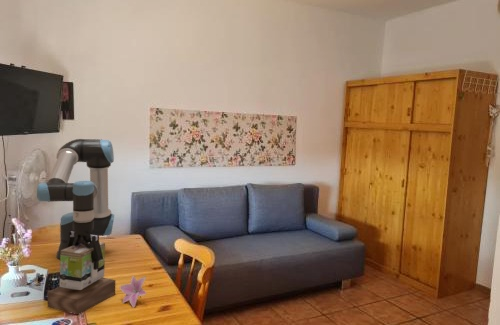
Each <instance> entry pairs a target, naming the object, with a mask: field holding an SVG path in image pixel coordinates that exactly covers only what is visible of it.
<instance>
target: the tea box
mask: <svg viewBox="0 0 500 325" xmlns="http://www.w3.org/2000/svg"><path fill="white" fill-rule="evenodd" d="M89 243H90V242H89ZM99 243H100V247H101V251H102V255H103V259H102V260H100V261H99V268H98V269H97V276H96V277H94V278H91V262H92V258H91V252H92V251H93V250H94V249H93V248H91V249H89V248H87V247H85V245H84V244H79V245H76V246H70V247H68V248H65V249H63V250H61V253H60V259H59V260H60V261H59V286H60V287H63V288H69V289H76V290H82V289H83V288H85V287H87V286H88V285H90V284H92V283H93V282H95V281H97V280H99V279H100V278H102V277H103V278H105V263H106V261H105V260H106V255H105V254H106V242H101V241H99Z"/></svg>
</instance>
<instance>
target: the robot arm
mask: <svg viewBox="0 0 500 325" xmlns="http://www.w3.org/2000/svg"><path fill="white" fill-rule="evenodd" d="M114 154H115V153H114V147H113V144H112V142H111V140H108V139H102V138H101V139H97V138H95V139H91V138H90V139H83V138H77V139H73V140H70V141H68V142H66V143H65V144H64V145H62V146H61V147H60V148H59V149H58V151H57V153H56V161H55V164H54V166H53V168H52V170H51V173H50V175H49V176H48V180H47V182H41V183H39V184H38V185H37V187H36V198H37V200H38V201H39V202H48V203H50V202H51V203H52V202H72V212H68V213H66V214H63V215H62V216H61V217H60V222H59V227H60V229H59V232H60V239H59V243H60V244H59V246H58V250H57V251H56V258H57V259H58V260H60V253H61V250H63V249H65V248H68V247H70V246H76V245H79V244H84V245H85V247H87V248H89V249H91V248H93V249H94V250H93V251H92V252H91V258H92V262H91V278H94V277H96V276H97V269H98V268H99V261H100V260H102V259H103V255H102V251H101V247H100V243H99V242H100V237H104V236H110V235H111V234H112V232H113V225H114V220H115V214H114V213H112V210H111V209H109V175H108V174H109V173H108V170H109V168H110V167H111V166H112V165H111V164H112V163H114V160H115V156H114ZM77 163H86V167H87V168H88V169H89V180H79V181H78V180H77V181H75V182H69V180H70V177H71V174H72V171H73V168H74V166H75V165H76V164H77ZM89 242H90V243H89Z"/></svg>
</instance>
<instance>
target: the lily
mask: <svg viewBox="0 0 500 325" xmlns="http://www.w3.org/2000/svg"><path fill="white" fill-rule="evenodd" d="M145 281H146V276H143V277H141V278H139V279H136V277H135V276H134V275H132V277H131V279H130V282H129V283H126V284H123V285H121V286H119V289H120V290H121V292H122V293H123V294H125V295H124V297H123V300H122V304H125V303H126V302H128V301H129V303H130V305H131V306H132V308H135V307H136V305H137V301H138V297H139V298H142V296H145V295H147V292H146V290H144V289H143V288H142V287H143V285H144V284H145Z"/></svg>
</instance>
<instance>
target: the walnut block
mask: <svg viewBox="0 0 500 325" xmlns="http://www.w3.org/2000/svg"><path fill="white" fill-rule="evenodd" d="M114 295H116V280H115V279H112V278H108V277H102V278H100V279H99V280H97V281H95V282H93V283H92V284H90V285H88V286H87V287H85V288H83V289H82V290H76V289H69V288H63V287H60V285H58V286H57V287H55V288H53V289H51V290H49V291H47V308H50V309H54V310H58V311H61V312H65V313H68V312H72V313H75V314H78V315H80V314H82V313H84V312H86V311H88V310H89V309H91V308H93V307H94V306H96V305H98V304H100V303H102V302H103V301H106V300H107V299H109V298H111V297H112V296H114ZM81 312H82V313H81ZM72 313H71V314H72ZM79 313H80V314H79ZM75 314H74V315H75Z"/></svg>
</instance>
